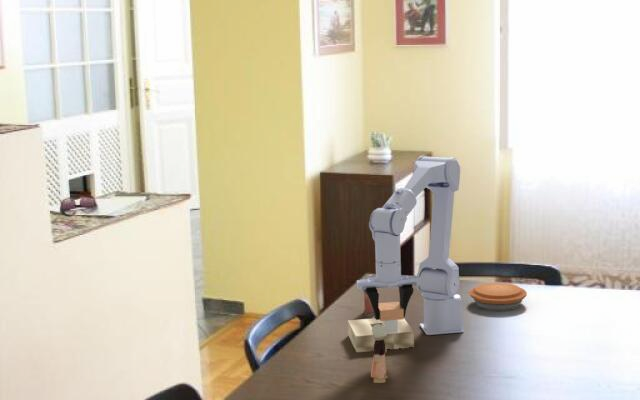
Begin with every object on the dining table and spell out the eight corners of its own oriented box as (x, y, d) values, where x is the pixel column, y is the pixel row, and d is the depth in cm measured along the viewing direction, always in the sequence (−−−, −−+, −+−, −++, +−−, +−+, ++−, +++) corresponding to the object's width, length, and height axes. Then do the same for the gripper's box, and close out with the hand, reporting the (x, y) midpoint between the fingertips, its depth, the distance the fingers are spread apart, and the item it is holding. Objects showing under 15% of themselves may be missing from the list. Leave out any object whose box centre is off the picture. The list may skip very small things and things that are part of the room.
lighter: (374, 317, 239) (373, 281, 237) (362, 317, 239) (361, 280, 238) (378, 307, 247) (377, 272, 245) (366, 307, 247) (365, 272, 245)
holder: (402, 331, 227) (402, 316, 226) (414, 347, 215) (413, 331, 215) (348, 335, 225) (347, 320, 225) (356, 352, 214) (356, 336, 213)
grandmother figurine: (371, 373, 200) (370, 319, 198) (389, 373, 200) (387, 319, 197) (370, 387, 193) (368, 330, 190) (388, 387, 192) (386, 330, 190)
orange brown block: (398, 326, 210) (398, 301, 209) (404, 333, 205) (403, 308, 204) (376, 328, 210) (375, 303, 209) (380, 335, 204) (380, 310, 203)
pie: (534, 300, 248) (534, 283, 247) (514, 316, 235) (514, 298, 234) (482, 293, 256) (482, 276, 255) (460, 309, 243) (460, 291, 242)
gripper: (359, 267, 199) (361, 325, 202) (423, 262, 201) (424, 320, 204) (354, 259, 206) (356, 315, 209) (416, 254, 208) (417, 310, 211)
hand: (389, 317), depth 207 cm, fingers closed on orange brown block, 5 cm apart
